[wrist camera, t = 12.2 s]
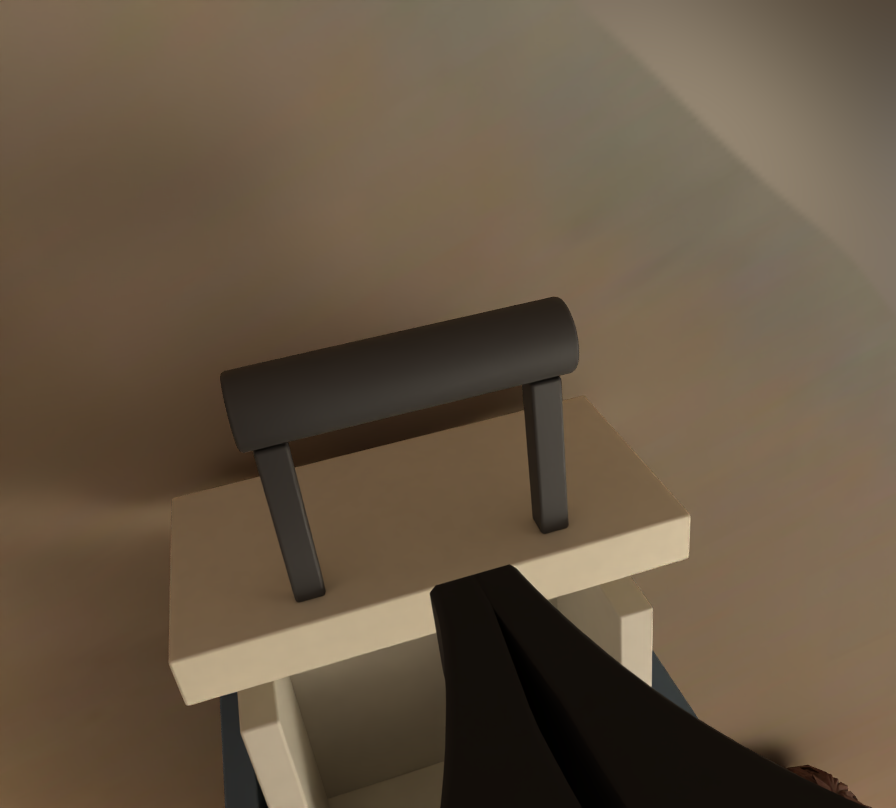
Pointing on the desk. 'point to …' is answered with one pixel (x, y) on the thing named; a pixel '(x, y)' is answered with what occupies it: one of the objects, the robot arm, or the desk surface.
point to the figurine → (824, 781)
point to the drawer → (401, 547)
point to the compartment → (242, 783)
